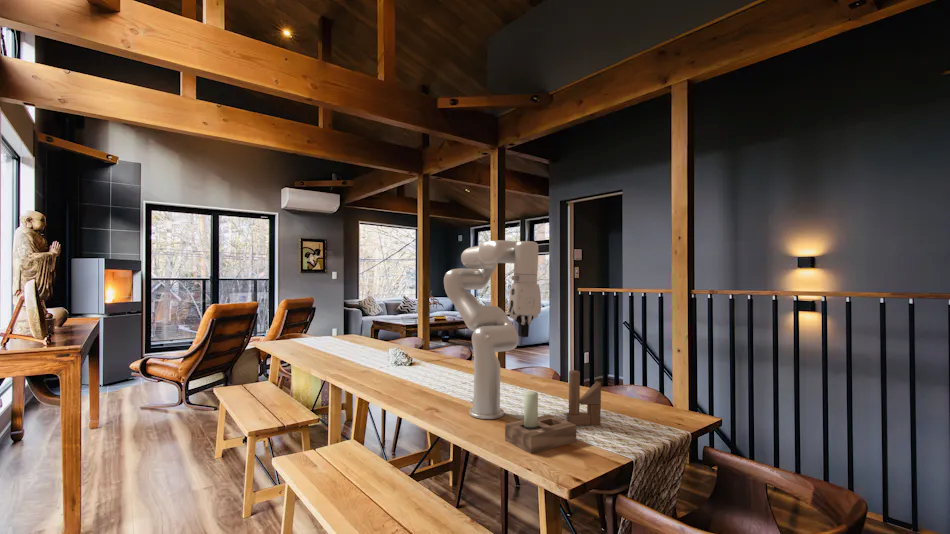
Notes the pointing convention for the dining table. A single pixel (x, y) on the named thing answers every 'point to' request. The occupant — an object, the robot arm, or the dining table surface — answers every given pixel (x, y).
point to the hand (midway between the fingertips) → (523, 336)
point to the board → (541, 434)
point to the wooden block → (583, 402)
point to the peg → (531, 410)
